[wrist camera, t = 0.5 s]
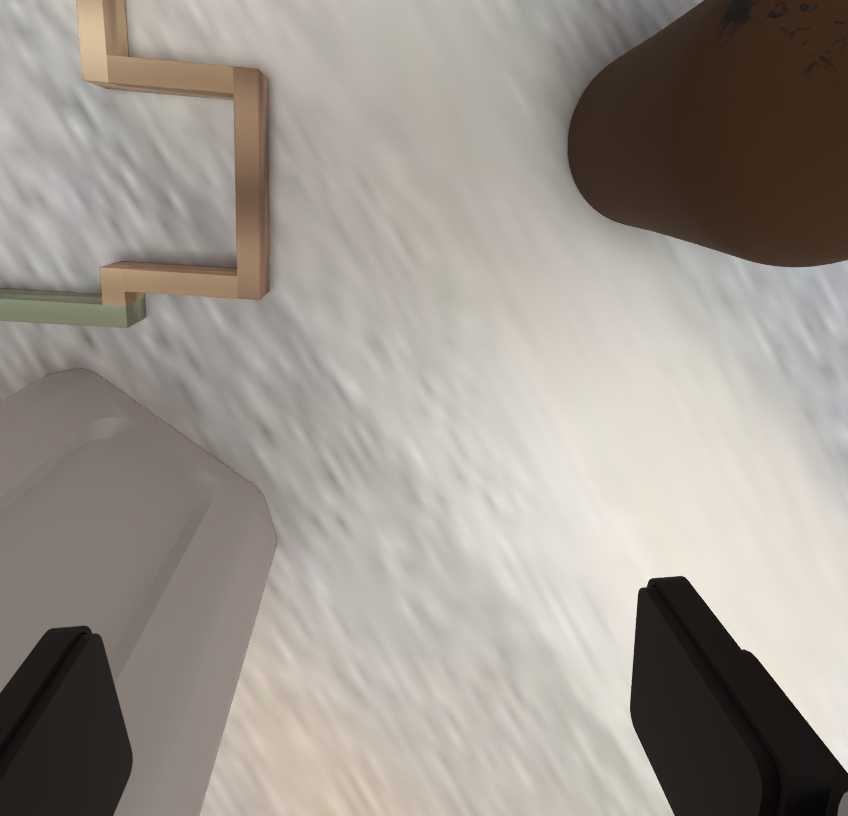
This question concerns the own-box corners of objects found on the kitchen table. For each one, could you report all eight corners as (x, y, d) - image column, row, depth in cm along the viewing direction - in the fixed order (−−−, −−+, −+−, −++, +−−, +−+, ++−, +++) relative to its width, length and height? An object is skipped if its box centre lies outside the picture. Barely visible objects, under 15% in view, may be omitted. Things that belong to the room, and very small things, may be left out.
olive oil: (547, 234, 38) (819, 313, 15) (565, 30, 35) (960, -297, 11) (720, 238, 39) (1245, 320, 15) (755, 40, 35) (1501, -249, 12)
